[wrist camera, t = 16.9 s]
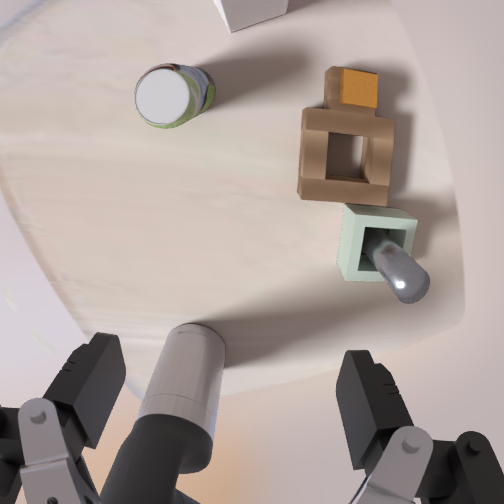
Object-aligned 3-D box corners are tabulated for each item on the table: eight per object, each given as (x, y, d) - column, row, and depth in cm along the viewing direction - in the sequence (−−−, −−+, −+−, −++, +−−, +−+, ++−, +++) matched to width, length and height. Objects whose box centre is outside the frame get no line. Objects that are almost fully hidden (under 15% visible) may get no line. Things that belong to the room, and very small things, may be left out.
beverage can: (213, 65, 32) (192, 38, 21) (220, 123, 35) (203, 121, 24) (162, 75, 32) (122, 56, 21) (169, 132, 35) (131, 135, 24)
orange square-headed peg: (360, 110, 33) (376, 108, 28) (330, 106, 33) (343, 102, 28) (361, 81, 32) (378, 75, 26) (332, 77, 32) (344, 68, 26)
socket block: (374, 198, 38) (386, 206, 34) (297, 192, 38) (301, 199, 34) (384, 81, 32) (397, 77, 28) (303, 69, 32) (309, 63, 28)
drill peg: (379, 249, 40) (424, 303, 27) (354, 248, 40) (392, 303, 27) (383, 224, 39) (433, 269, 26) (358, 222, 39) (401, 268, 26)
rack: (390, 265, 41) (404, 281, 36) (336, 263, 41) (345, 280, 36) (401, 209, 38) (417, 219, 33) (344, 203, 38) (355, 214, 33)
